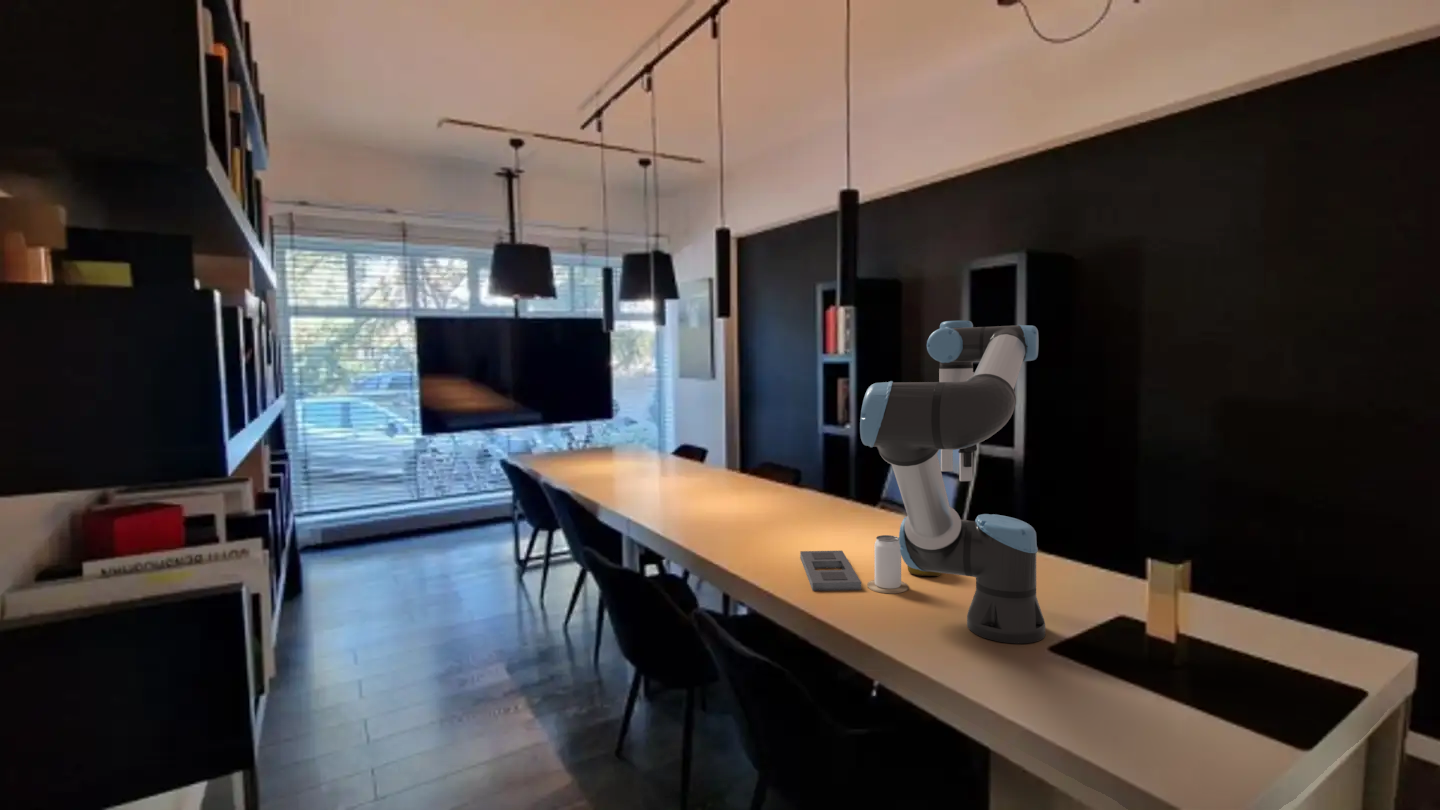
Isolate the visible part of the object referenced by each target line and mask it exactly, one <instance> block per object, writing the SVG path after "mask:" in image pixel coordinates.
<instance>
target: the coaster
mask: <svg viewBox="0 0 1440 810" xmlns="http://www.w3.org/2000/svg"><path fill="white" fill-rule="evenodd" d="M867 588H868V589H869V590H871V591H873V592H875V593H880V594H887V595H889V594H890V595H891V594H902V593H905V592H908V591H909V589H910V588H909V585H908V584H907V582H904V581H902V580H901V586H900V587H899V588H897V589H883V588H879V587H877V586H876V584H875V579H873V580H870V581H868V582H867Z"/></svg>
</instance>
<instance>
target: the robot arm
mask: <svg viewBox="0 0 1440 810" xmlns="http://www.w3.org/2000/svg"><path fill="white" fill-rule="evenodd" d="M1039 340H1040V339H1039V330H1038V328H1037V327H1036V326H1035V325H1025V324H1024V325H1023V324H1017V325H1001V326H999V325H997V326H977V327H976V326H974V324H973V322H972V321H970V320H946V321H942V322H941V323H940V325H939V328H938V329H936V330H934V331H933V332H932V333H931V334H930V335H929V337H928V339H927V340H926V351H927V353H928V355H929V356H930V357H931V358H932V359H933V360H935V361H937V362H939V369H938V370H939V371H938V373H939V377H938V378H939V379H938V380H939V381H934V382H933V381H930V382H929V381H927V382H926V381H924V382H923V381H922V382H921V381H919V382H917V381H916V382H915V381H914V382H911V381H909V382H904V381H903V382H894V381H893V380H890V381H888V382H887V381H885V382H884V381H883V382H875V383H873V384H871V385H870V386H868V388H867V389H866V392H865V394H864V397H863V400H862V405H861V410H860V419H859V421H860V422H859V434H860V439H861V442H862V444H863V445H864V446H866V447H867V446H868V447H869V448H873V447H874V448H875V447H876V448H877V450H878V453H879V455H880V456H881V458H882V459H883V460H884V461H885V462H887V464H890V465H891V466H892V467H891V468H892V470H893V473H894V477H895V479H896V483H897V486H898V488H899V492H900V495H901V499H902V502H903V505H904V509H905V511H906V515H907V516H905V517H904V518H903V519H902V521H901V524H900V526H899V532H898V538H899V544H900V552H901V559H902V560H903V562H904V563H905V565H906V566H907V565H908V566H909V567H911V568H914V569H919V570H921V571H930V572H939V573H941V574H947V575H948V574H949V575H958V576H965V577H971V578H975V591H974V594H973V597H972V599H971V603H970V606H969V609H968V611H967V615H966V626H967V628H968V630H969V631H971V632H972V633H974V634H975V635H977V636H979V637H981V638H984V639H987V640H990V641H994V642H999V643H1006V644H1031V643H1035V642H1038V641H1042V640H1043V639H1044V638H1045V636H1046V622H1045V619H1044V616H1043V613H1042V610H1041V606H1040V604H1039V601H1038V598H1037V553H1038V551H1039V547H1038V545H1037V543H1038V542H1037V532H1036V530H1035V527H1033V526H1032V525H1030V523H1027V522H1026V521H1023V520H1021V519H1019V518H1015V517H1011V516H1006V515H1000V514H997V513H995V514H994V513H993V514H989V513H982V514H978V515H977V516H976V518H975V520H966V519H961V517H960V515H959V513H958V512H957V511H956V509H954V508H953V507H951V506H950V503H949V499H948V494H947V490H946V486H945V481H944V477H943V473H942V472H953V471H954V469H953V468H954V450H958V454H959V482H973V478H974V477H973V471H974V470H973V465H974V464H973V460H974V459H973V454H974V452H977V450H978V447H977V445H978V444H979V443H982V442H984V441H985V440H988V439H989V438H991V437H992V436H993V435H995V434H997V432H999V431H1000V430H1002V429H1003V427H1005V426H1006V425H1007V423H1008V422H1009V420H1010V419H1011V418H1012V415H1013V414H1014V410H1015V408H1016V403H1017V396H1016V392H1015V387H1016V385H1017V381H1018V378H1019V374H1020V371H1021V368H1022V365H1023V362H1024V363H1026V362H1031V361H1035V360H1037V358H1038V356H1039ZM974 362H975V363H976V362H979V363H978V365H977V367H976V369H975V371H974V364H973V363H974ZM939 451H940V461H939V456H938V453H939Z"/></svg>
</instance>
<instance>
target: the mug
mask: <svg viewBox="0 0 1440 810" xmlns="http://www.w3.org/2000/svg"><path fill="white" fill-rule="evenodd" d="M906 566H907V567H906V568H907V571H908V573H909V574H911V575H915V576H919V577H920V576H921V577H922V576H923V577H924V576H926V577H939V576H940V575H941V574H942V573H939V572H930V571H921V570H919V569H914V568H911V567H909V566H908V565H907V564H906Z"/></svg>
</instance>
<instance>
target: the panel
mask: <svg viewBox="0 0 1440 810" xmlns="http://www.w3.org/2000/svg"><path fill="white" fill-rule="evenodd" d="M799 552H800V553H799V554H800V555H799V556H800V561H801V564H802V567H803V568H804V571H805V573H806V577H807V579H808V582H809V585H810V588H811V590H812V592H822V591H823V592H824V591H827V592H828V591H831V592H832V591H862V581H861V580H860V577H859V576H858V574H857V572H856V571H855V570H854V567H853V566H852V564H851V562H850V561H849V560H848V558H847V556H846V554H845V553H844V551H843V550H802V551H799ZM816 569H817V570H816ZM818 569H819V570H818ZM821 569H822V570H821ZM825 569H826V570H825Z"/></svg>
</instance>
